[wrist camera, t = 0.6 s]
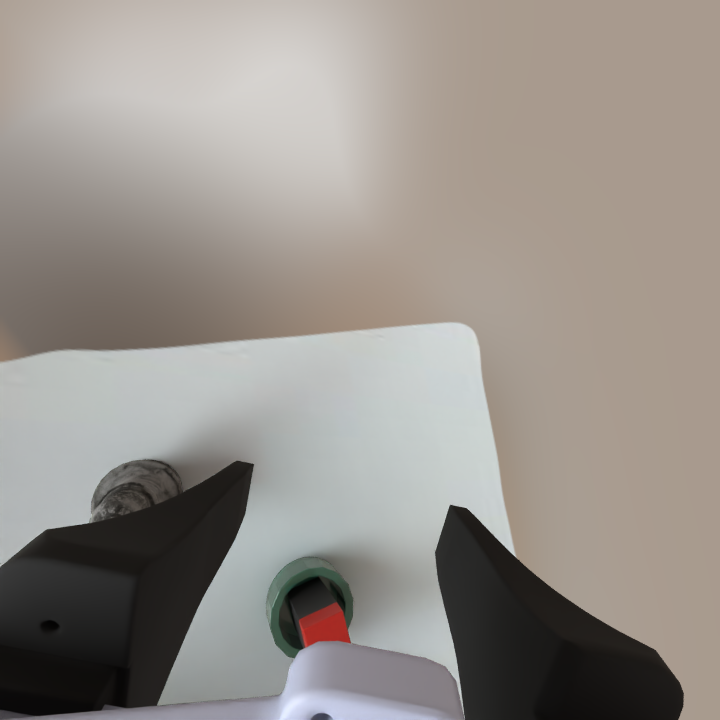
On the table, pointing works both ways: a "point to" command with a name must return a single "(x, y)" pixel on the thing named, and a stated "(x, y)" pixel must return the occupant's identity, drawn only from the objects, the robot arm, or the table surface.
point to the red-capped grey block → (316, 614)
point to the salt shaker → (134, 489)
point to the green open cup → (294, 577)
